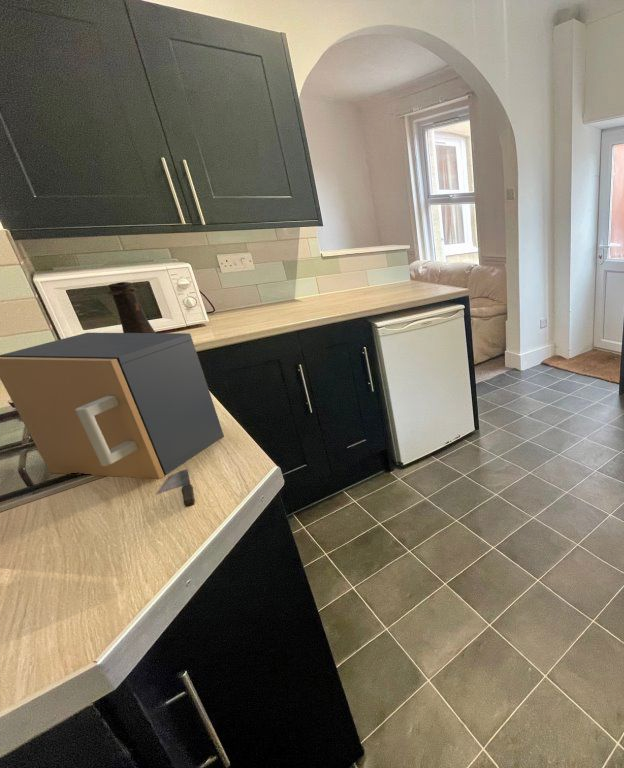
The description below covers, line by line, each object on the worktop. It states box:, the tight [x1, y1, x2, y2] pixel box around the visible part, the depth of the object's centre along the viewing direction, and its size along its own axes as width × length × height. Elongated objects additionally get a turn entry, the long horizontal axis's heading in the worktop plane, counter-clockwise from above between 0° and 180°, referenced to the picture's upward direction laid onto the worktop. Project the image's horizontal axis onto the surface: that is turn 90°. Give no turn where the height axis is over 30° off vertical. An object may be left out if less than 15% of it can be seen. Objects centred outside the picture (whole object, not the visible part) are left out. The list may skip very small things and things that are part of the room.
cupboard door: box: [0, 357, 165, 480], centre depth 69 cm, size 6×22×22 cm, turn 83°
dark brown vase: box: [106, 281, 157, 333], centre depth 111 cm, size 18×18×28 cm
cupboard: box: [0, 332, 225, 476], centre depth 78 cm, size 14×22×22 cm, turn 83°
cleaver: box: [155, 468, 196, 508], centre depth 72 cm, size 16×1×5 cm
